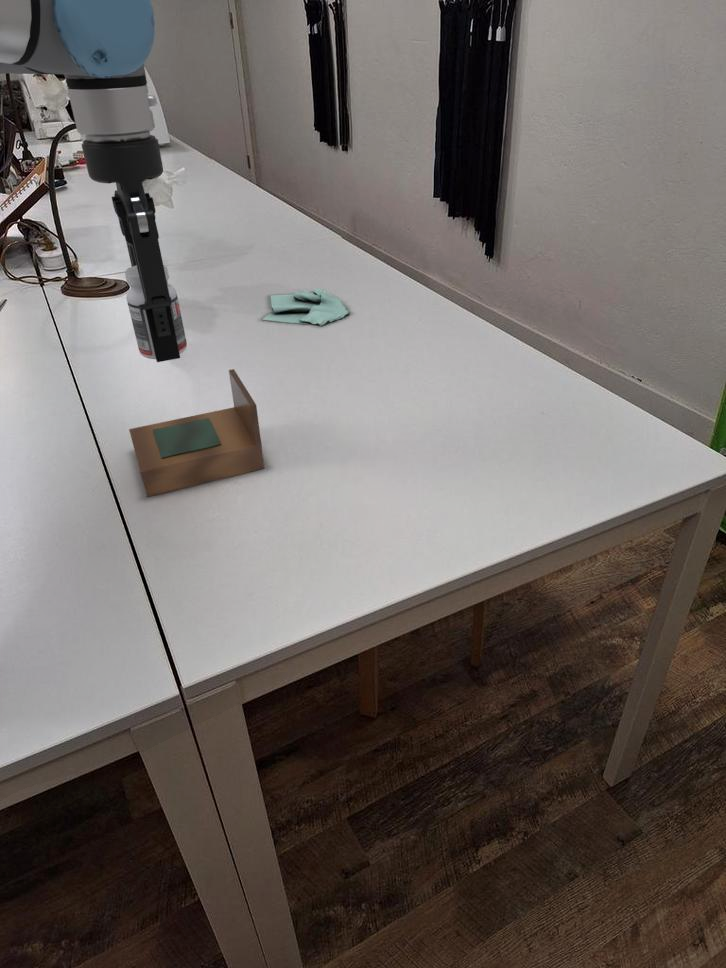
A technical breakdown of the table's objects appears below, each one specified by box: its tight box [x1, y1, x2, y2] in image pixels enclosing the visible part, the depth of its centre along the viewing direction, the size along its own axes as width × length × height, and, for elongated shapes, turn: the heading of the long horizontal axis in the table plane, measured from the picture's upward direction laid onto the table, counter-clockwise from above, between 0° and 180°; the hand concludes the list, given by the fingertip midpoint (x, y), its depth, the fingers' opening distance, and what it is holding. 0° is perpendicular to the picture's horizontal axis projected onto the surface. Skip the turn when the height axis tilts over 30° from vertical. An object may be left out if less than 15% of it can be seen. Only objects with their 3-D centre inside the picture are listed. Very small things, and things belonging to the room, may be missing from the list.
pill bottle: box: [124, 264, 188, 360], centre depth 77 cm, size 6×6×10 cm
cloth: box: [262, 287, 350, 327], centre depth 142 cm, size 20×22×2 cm
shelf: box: [128, 368, 265, 498], centre depth 90 cm, size 16×12×10 cm
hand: (163, 348), depth 80 cm, fingers closed on pill bottle, 6 cm apart
